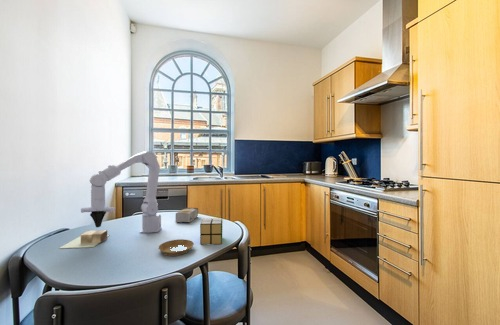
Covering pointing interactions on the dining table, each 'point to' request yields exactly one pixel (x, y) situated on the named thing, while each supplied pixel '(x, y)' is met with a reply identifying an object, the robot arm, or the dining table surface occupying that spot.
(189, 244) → the plant saucer
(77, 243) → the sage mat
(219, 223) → the puzzle cube
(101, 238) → the birch block
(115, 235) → the dining table surface
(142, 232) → the robot arm
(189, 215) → the coffee box
